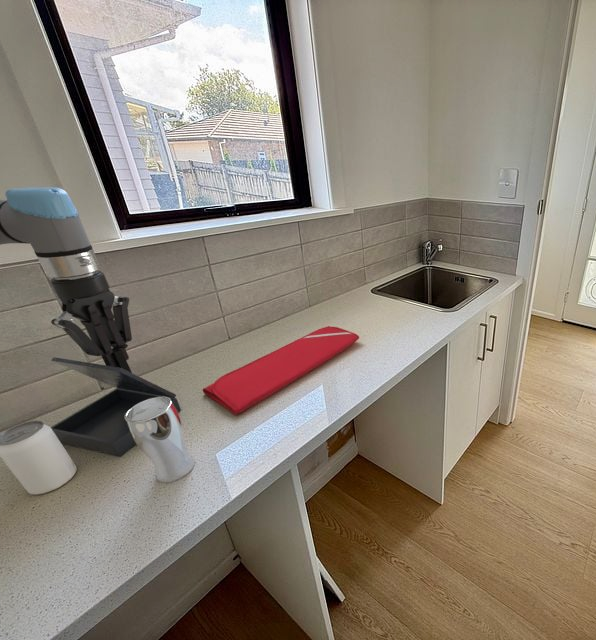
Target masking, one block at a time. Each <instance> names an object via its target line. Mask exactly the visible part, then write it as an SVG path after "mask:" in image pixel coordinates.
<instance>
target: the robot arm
mask: <svg viewBox="0 0 596 640" xmlns="http://www.w3.org/2000/svg"><path fill="white" fill-rule="evenodd" d="M4 194H5V195H4V196H5V197H6V199H0V246H1V245H9V244H30V246H31V248H32V249H33V252H34V254H35V255H36V258H37V259H38V261H39V264H40V265H41V268H42V270H43V271H44V274H45V275H46V277H47V278H50V280H49V283H50V285H51V287H52V289H53V290H54V293H55V294H56V296H57V298H58V299H59V300H60V302H61V310H62V313H61V314H60V315H59V317H57V318H52V320H51V321H50V323H51V324H52V325H53V326H55V327H57V328H60V329H62V331H64V332H65V334H66V335H68V336H69V337H70V338H71V339H72V341H74V342H75V343H76V345H77V346H78V347H79V348H80V349H81V350H82V351H83V352H84V353H85V354H86V355H87V356H92V357H93V356H94V357H101V358H102V361H103V362H104V365H106V366H113V367H119V368H122V369H124V370H126V371H128V372H130V373H133V372H132V370H131V367H130V365H129V363H128V360H129V359H130V356H129V355H128V352H127V348H129V347H128V346H129V344H127V343H128V342H131V341H132V340H133V336H132V329H131V322H130V316H129V315H130V314H129V309H128V308H129V304H130V298H129V297H128V296H120V295H115V293H114V292H112V291H111V290H110V285H109V282H108V280H107V277H106V275H105V272H103V271H101V270H100V269H101V268H102V267H101V264H100V262H99V260H98V258H97V255H96V253H95V251H94V249H93V246H92V244H91V242H90V239H89V237H88V234H87V232H86V230H85V227H84V224H83V223H82V220H81V218H80V215H79V211H78V209H77V208H76V206H75V205H74V203H73V200H72V199H71V197H70V195H69V194H68V192H67V191H66V190H65V189H63V188H61V187H56V186H46V187H45V186H44V187H43V186H42V187H41V186H40V187H39V186H38V187H36V186H35V187H33V186H32V187H19V188H18V187H17V188H10V189H7V190H6V191H5V192H4ZM74 318H75V319H77V320H79V322H80V323H81V325H83V326H84V329H85V330H86V332H87V333H86V332H85V331H84V330H83V329H82V328H81V327H80V326H79V325H78V324H77V323H76V320H75V319H74Z"/></svg>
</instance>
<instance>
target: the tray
mask: <svg viewBox="0 0 596 640" xmlns="http://www.w3.org/2000/svg"><path fill="white" fill-rule="evenodd" d="M154 397H166V396H160V395H154V394H149V393H143V392H137V391H131V390H126V389H120V388H114V389H112V390H111V391H110V392H108V393H106V394H104V395H103V396H101V397H99V398H98V399H96V400H94V401H92V402H91V403H89V404H88V405H85V406H84V407H82V408H80V409H79V410H77V411H75V412H74V413H72V414H71V415H69V416H67V417H66V418H63V419H62V420H61V421H59V422H57V423H55V424H54V425H52V426H49V427H50V428H51V429H52V430H53V432H54V433H55V435H56V436H57V438H58V439H59V441H60V442H61V444H62V445H63V446H64V445H65V446H69V447H74V448H79V449H82V450H83V449H84V450H87V451H92V452H96V453H100V454H105V455H110V456H115V457H118V458H121V457H122V456H124V455H125V454H127V453H128V452H129V451H130V450H131V449H133V448H134V447H135V446H137V444H136V443H135V441H134V439H133V438H132V435H131V433H130V431H129V428H128V425H127V422H126V420H125V414H126V412H127V411H128V410H129V409H130V408H131V407H133V406H134V405H136V404H138V403H140V402H142V401H144V400H147V399H150V398H154ZM168 398H170V399H171V401H172V403H173V405H174V407H175V408H176V410H177V412H178V413H179V412H181V411H182V408H181V406H180V404H179V401H178V399H177V397H175V398H172V397H168Z"/></svg>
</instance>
